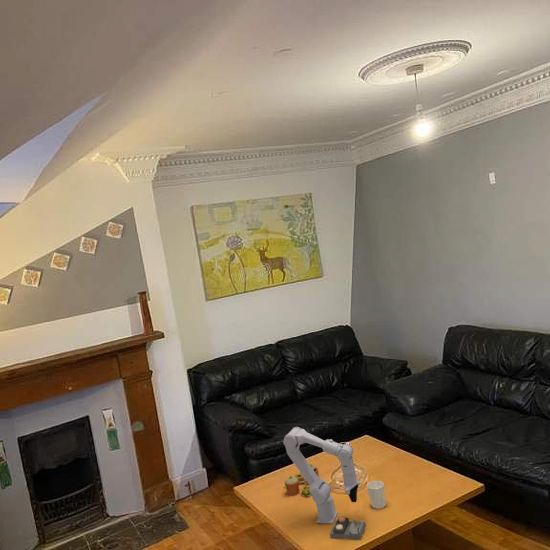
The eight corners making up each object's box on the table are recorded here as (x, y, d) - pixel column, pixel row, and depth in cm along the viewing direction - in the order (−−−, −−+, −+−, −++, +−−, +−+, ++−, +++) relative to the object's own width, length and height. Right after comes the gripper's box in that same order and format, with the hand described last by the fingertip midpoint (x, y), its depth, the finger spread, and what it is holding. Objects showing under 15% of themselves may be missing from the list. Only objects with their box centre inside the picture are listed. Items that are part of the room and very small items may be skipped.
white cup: (367, 504, 251) (363, 484, 250) (380, 498, 254) (377, 479, 254) (376, 511, 244) (373, 490, 243) (390, 505, 247) (387, 484, 246)
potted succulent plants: (313, 498, 267) (309, 480, 266) (284, 499, 272) (280, 481, 271) (322, 473, 292) (319, 457, 291) (296, 475, 297) (293, 458, 296)
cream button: (337, 528, 232) (336, 524, 232) (344, 528, 231) (343, 524, 231) (335, 532, 230) (334, 528, 229) (342, 532, 228) (341, 528, 228)
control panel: (336, 524, 239) (335, 516, 239) (366, 526, 234) (364, 517, 234) (330, 538, 230) (329, 529, 230) (361, 539, 225) (359, 531, 224)
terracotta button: (340, 520, 237) (339, 515, 237) (346, 520, 236) (345, 516, 236) (338, 523, 234) (337, 519, 234) (344, 524, 233) (344, 519, 233)
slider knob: (352, 529, 229) (351, 523, 229) (359, 529, 228) (358, 523, 228) (351, 533, 226) (349, 527, 226) (357, 533, 225) (356, 527, 225)
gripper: (353, 480, 229) (359, 510, 230) (361, 465, 242) (366, 493, 243) (338, 480, 232) (343, 509, 233) (346, 465, 245) (351, 492, 246)
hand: (354, 501), depth 238 cm, fingers closed
